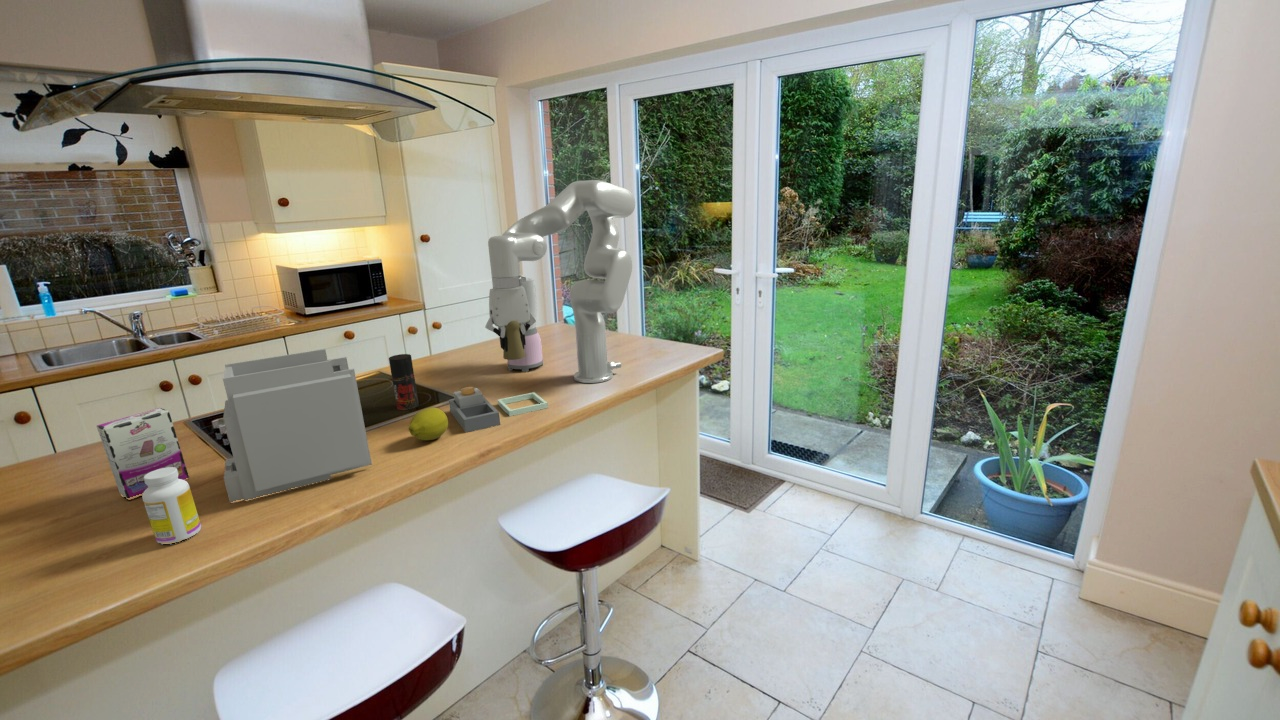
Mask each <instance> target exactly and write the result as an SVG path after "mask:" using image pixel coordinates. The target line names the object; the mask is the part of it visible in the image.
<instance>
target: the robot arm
mask: <svg viewBox="0 0 1280 720" xmlns="http://www.w3.org/2000/svg"><path fill="white" fill-rule="evenodd" d="M635 208H636V200H635V197H634V194H633V193H632V192H631V191H630V190H629V189H627V188H625V187H622V186H619V185H616V184H613V183H610V182H608V181H604V180H601V179H600V180H599V179H592V180H590V179H589V180H587V179H586V180H575V181H573V182H571V183H570V184H568V185H567V186H566V187H565V188H564V189H563V190H562V191H560V193H559V194H557V195H556V196H555V197H554V198H553V199H551V201H550V202H549V203H547V204H546V205H545V206H543V207H541V208H539V209H536V210H535V211H533V212H532V213H530V214H528V215H525V216H524V217H522V218H520V219H519V220H517V221H516V222H514V223H513V224H512V225H511V226H509V228H507V229H506V230H505V232H503V233H502V235H494V236H491V237H490V238H489V239H488V242H487V243H488V244H487V246H488V253H489V254H488V255H489V265H490V273H491V283H492V288H490V289H489V295H488V297H489V298H488V308H489V309H488V310H489V313H488V315H489V318H488V319H487V322H486V324H485V327H484V328H485V329H487V330H488V331H490V332H493V333H495V335H497V336H498V337H499V342H500V343H499V344H500V348H501V349H502V350H503V351H504V349H505V352H507V351H508V347H507V345H508V341H507V337H506V336H505V326H507V325H508V323H509V322H511V321H517V322H519V323H520V324H521V326H520V329H519V330H520V334H521V335H520V336H521V341H522V346H523V349H524V345H526V342H525V334H526V331H527V330H528V329H529V328H530V326H531V325H533V324H534V323H535V322H536V323H537V319H536V320H535V318H534V317H533V316H532V315H531V313H530V312H529V306H528V300H527V296H526V292H525V289H524V287H523V286H522V282H526V278H527V277H526V276H525V277H522V276H521V275H522V274H521V269H520V268H521V267H520V264H521V263H520V262H535V261H539V260H541V259H543V257H544V256H546V253H547V250H548V245H547V242H546V240H545V238H544V237H546V236H552V235H555V234H558V233H561V232H563V231H565V230H567V229H568V228H569V227H570V226H571V225H572V224H574V222H575V221H576V220H577V219H578V218H579V217H580V216H581V215H583V213H585V212H587V214H588V216H589V219H590V221H591V225H592V235H591V238H590V242H589V245H588V249H587V252H586V255H585V259H584V263H583V271H584V273H585V274H586V275H587V276H588V277H590V278H593V279H603V280H604V281H603V280H593V279H592V280H591V279H582V280H578V281H576V282H574V283H573V285H572V286H571V287H570V291H569V300H570V301H569V302H570V304H571V308H572V312H573V318H574V319H573V320H574V328H575V341H576V343H575V344H576V355H577V358H576V359H577V369H578V370H577V372H575V373H574V374H573V379H574V381H576V382H578V383H582V384H583V383H585V384H596V383H602V382H606V381H607V382H608V380H611V379H612V378H613V376H614V373H613V370H615V369H621V368H622V363H621V362H620V361H618V362H614V361H610V362H609V361H608V354H607V353H608V352H607V351H608V350H607V348H608V347H607V337H606V336H607V335H606V334H607V333H606V332H607V331H606V322H605V318H604V316H603V314H613V313H615V312H618V311H619V310H620V308H621V307H622V304H623V302H624V299H625V296H626V293H627V289H628V286H629V283H630V279H631V276H632V272H633V259H632V257H631V255H630V253H629V252H628V251H627V250H626V249H621V248H618V244H619V241H620V240H619V239H620V234H619V230H618V227H617V225H616V223H615V221H614V219H620V218H621V219H622V218H623V219H624V218H628V217H630V216H631V215H632V214H633V213H634V211H635ZM524 323H525V324H524ZM493 325H494V326H493Z"/></svg>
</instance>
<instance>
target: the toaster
mask: <svg viewBox="0 0 1280 720" xmlns="http://www.w3.org/2000/svg"><path fill="white" fill-rule="evenodd" d="M347 359H348V357H347V356H343V357H337V358H332V359H328V356H327V351H326V348H323V349H317V350H309V351H304V352H297V353H296V352H295V353H291V354H284V355H277V356H272V357H271V356H270V357H263V358H258V359H252V360H245V361H239V362H232V363H227V364H224V367H225V369H224V375H223V378H222V382H223V386H224V389H225V393H226V394H225V395H226V397H227V400H226V399H225V401H224V411H223V416H222V418H223V422H224V426H225V430H226V434H227V438H228V441H229V446H230V448H231V452H232V457H231V458H226V459H225V462H224V468H225V470H224V472H223V481H224V485H225V489H226V492H227V496H228V499H229V503H230V502H233V501H236V500H241V499H244V500H248V499H253V498H256V497H260V496H263V495H268V494H272V493H276V492H280V491H284V490H288V489H291V488H295V487H300V486H304V485H308V484H312V483H316V482H320V481H324V480H327V481H329V480H328V479H331V480H332V476H333V475H336V474H341V473H345V472H349V471H352V470H356V469H361V468H363V467H368V466H371V465H372V463H373V462H372V458H371V454H370V453H371V452H370V447H369V442H368V437H367V430H366V427H365V426H366V425H365V422H364V421H365V420H364V415H363V410H362V405H361V398H360V394H359V393H360V392H359V389H358V383H357V378H356V371H355V368H349V363H348V360H347ZM324 482H325V481H324ZM320 483H321V482H320ZM316 484H317V483H316ZM312 485H313V484H312ZM308 486H309V485H308Z"/></svg>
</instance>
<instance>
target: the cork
mask: <svg viewBox="0 0 1280 720" xmlns="http://www.w3.org/2000/svg"><path fill="white" fill-rule="evenodd" d="M520 326H521V324H520V323H519V322H517V321H511V322H509V323H508V325H507V326H505V336H506V337H507V341H508V345H507V347H508V351H507V352H505V349H504V350H503V353H502V354H503V357H502V358H503V359H504V360H507V361H508V360H516V359H521V358H524V357H525V356H526V355H525V351H524V349H523V346H522V341H521V336H520V335H521V334H520V330H519V329H520Z"/></svg>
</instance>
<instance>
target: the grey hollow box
mask: <svg viewBox="0 0 1280 720" xmlns="http://www.w3.org/2000/svg"><path fill="white" fill-rule="evenodd" d="M483 400H484V403H482V404H477V405H472V406H467V407H463V408H458V406H457V405H456V404H455V399H454V398H451V399H449V400H448V404H449V411H450V414H451V415H452V416H453V417H454V419H455V420H456V421H457V422H458V424H459V425H460V427H461V428H462V429H463V431H464V433H466V432H467V433H472V432H475V430H476V431H478V430H479V431H481V430H483V429H488V427H489V428H492V427H491V426H493V427H497V426H500V425H501V418H500V412H499V411H498V410H497V409H496V408H495V407H494V406H493V404H491V403H490V402H489V401H488V400H487V399H486V397H485V396H484V395H483ZM496 425H497V426H496Z"/></svg>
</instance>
